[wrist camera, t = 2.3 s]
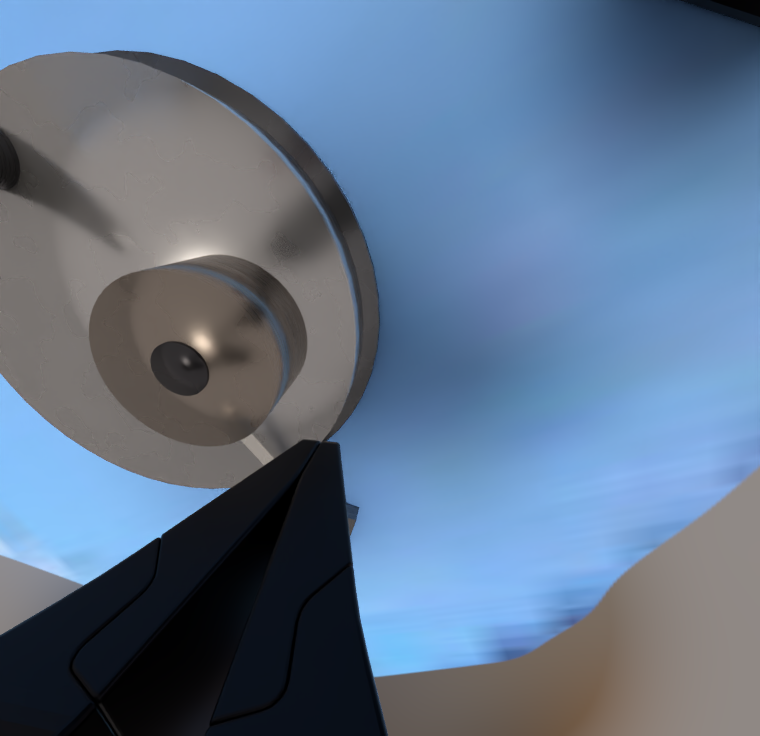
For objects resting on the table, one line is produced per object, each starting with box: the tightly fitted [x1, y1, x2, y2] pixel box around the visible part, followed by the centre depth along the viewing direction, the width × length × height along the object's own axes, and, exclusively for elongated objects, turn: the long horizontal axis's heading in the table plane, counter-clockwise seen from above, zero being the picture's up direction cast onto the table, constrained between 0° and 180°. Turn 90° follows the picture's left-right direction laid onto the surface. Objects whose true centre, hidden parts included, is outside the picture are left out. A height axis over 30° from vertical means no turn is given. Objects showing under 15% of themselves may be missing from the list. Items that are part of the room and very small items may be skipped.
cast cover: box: [89, 254, 307, 447], centre depth 14 cm, size 7×7×4 cm
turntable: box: [0, 52, 364, 489], centre depth 15 cm, size 19×19×6 cm
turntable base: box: [96, 50, 380, 442], centre depth 18 cm, size 20×20×1 cm
